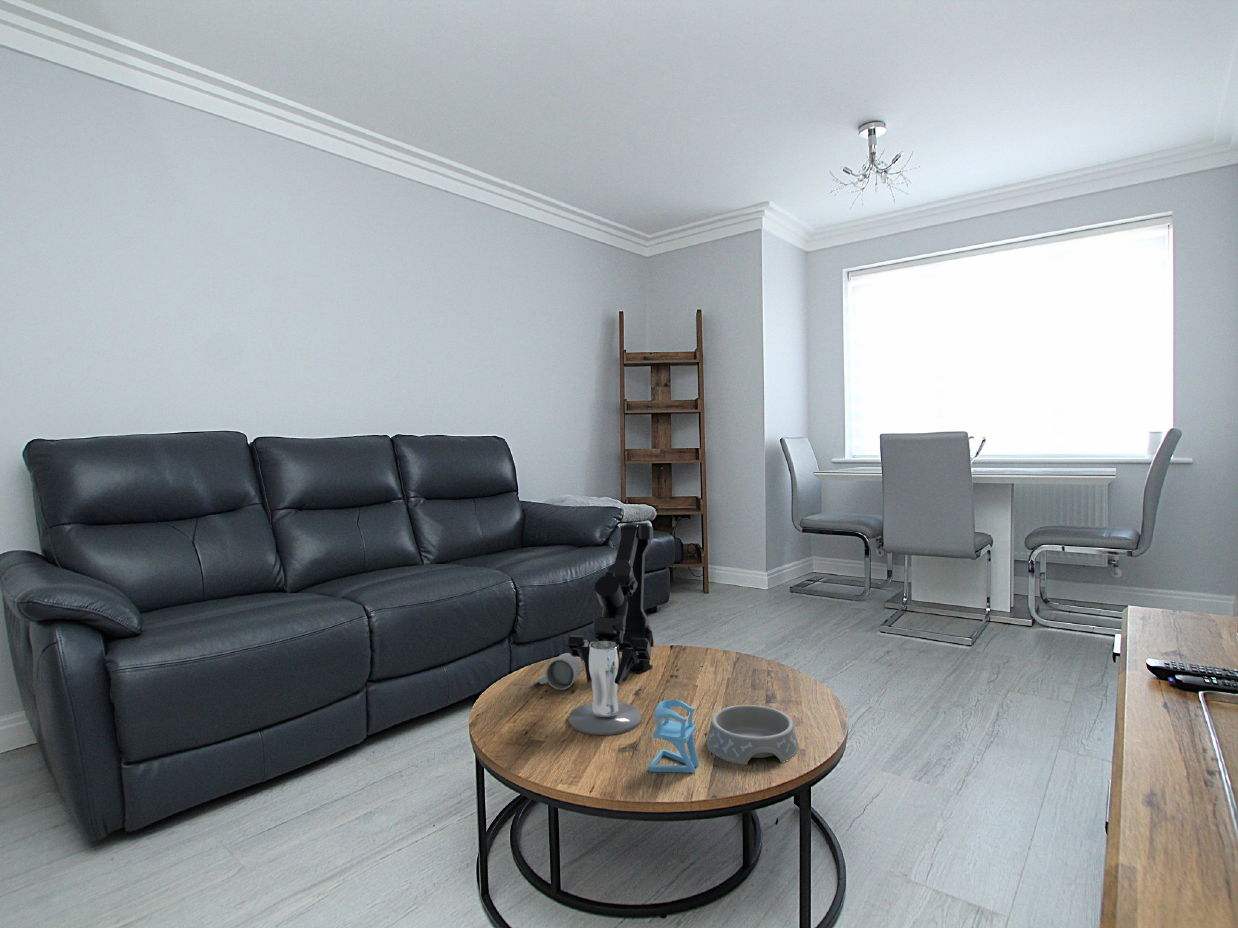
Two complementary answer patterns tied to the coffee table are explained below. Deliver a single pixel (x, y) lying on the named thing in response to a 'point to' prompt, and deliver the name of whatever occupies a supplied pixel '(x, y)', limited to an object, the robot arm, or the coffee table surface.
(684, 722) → the chair
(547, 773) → the coffee table surface
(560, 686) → the ceramic mug
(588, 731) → the coaster board
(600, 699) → the chrome tumbler cup
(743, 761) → the dog bowl
